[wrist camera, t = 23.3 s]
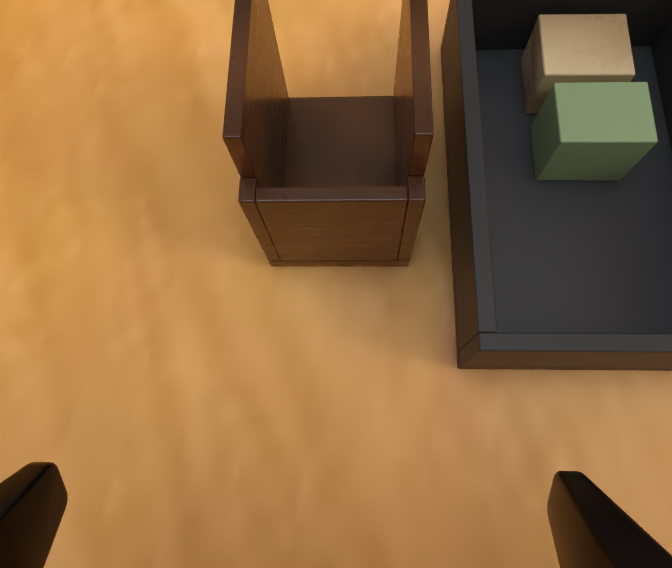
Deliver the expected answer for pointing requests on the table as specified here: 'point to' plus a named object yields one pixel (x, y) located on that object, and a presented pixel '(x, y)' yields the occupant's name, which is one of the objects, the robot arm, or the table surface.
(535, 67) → the birch block
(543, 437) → the table surface
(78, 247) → the table surface
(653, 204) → the bin
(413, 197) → the brown wooden holder
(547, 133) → the sage block
